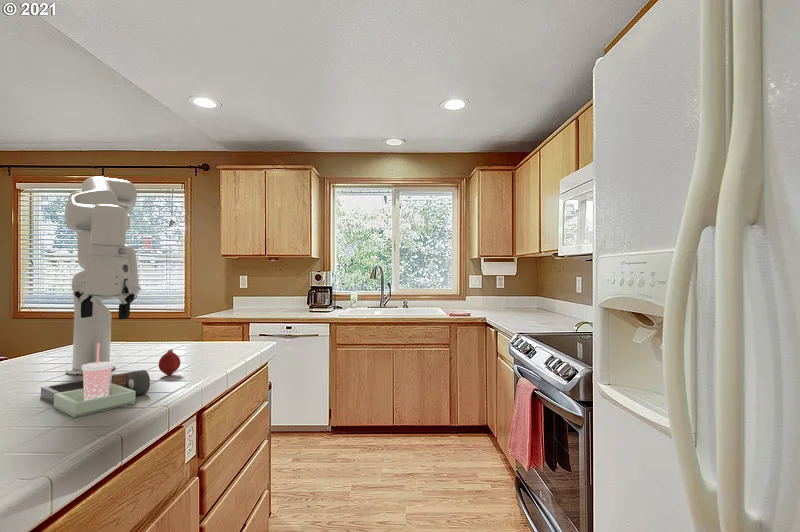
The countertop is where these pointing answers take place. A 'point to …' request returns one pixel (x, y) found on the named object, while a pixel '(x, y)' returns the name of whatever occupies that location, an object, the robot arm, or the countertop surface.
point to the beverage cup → (96, 378)
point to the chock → (120, 379)
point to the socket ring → (60, 389)
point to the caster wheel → (138, 381)
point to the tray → (93, 401)
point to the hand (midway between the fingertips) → (105, 318)
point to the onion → (169, 363)
